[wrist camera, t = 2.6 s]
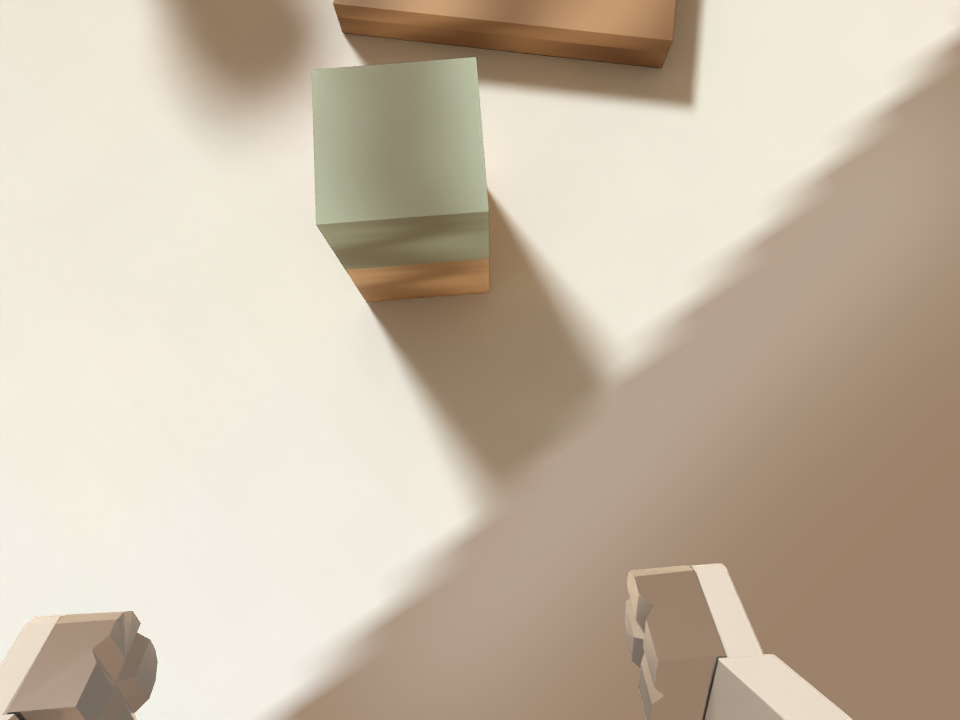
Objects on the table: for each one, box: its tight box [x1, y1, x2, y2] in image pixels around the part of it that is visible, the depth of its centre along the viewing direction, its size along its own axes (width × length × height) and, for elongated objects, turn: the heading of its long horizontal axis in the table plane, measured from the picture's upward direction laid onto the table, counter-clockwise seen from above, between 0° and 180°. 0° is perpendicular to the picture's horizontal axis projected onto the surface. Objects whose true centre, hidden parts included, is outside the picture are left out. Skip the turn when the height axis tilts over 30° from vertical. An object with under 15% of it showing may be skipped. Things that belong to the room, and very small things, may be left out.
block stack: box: [312, 57, 489, 302], centre depth 24 cm, size 5×5×8 cm
